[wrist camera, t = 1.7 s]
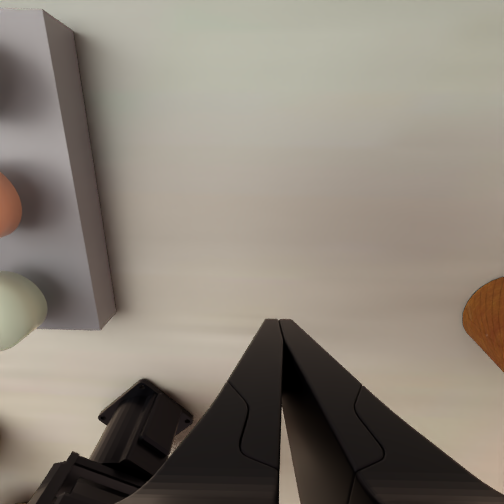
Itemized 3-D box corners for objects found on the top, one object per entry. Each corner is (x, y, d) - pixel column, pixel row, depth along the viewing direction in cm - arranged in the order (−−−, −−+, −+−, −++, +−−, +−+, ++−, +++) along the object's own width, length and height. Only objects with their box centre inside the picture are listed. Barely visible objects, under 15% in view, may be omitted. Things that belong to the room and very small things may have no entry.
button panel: (116, 312, 22) (100, 330, 20) (5, 309, 22) (-24, 327, 20) (73, 30, 16) (42, 9, 14) (-82, 25, 16) (-139, 2, 14)
